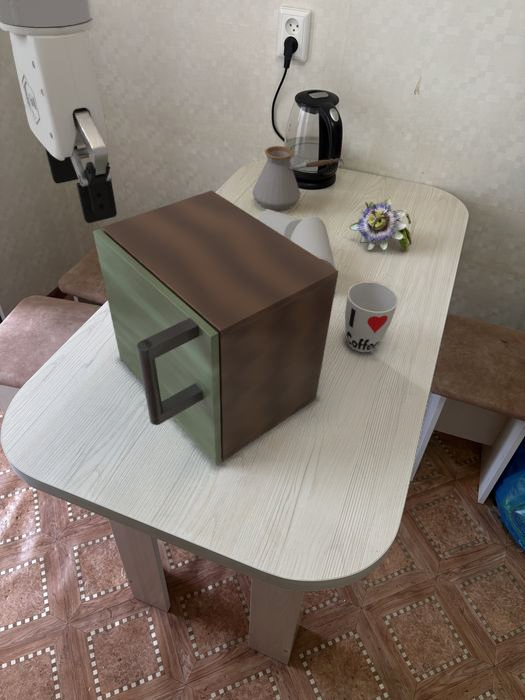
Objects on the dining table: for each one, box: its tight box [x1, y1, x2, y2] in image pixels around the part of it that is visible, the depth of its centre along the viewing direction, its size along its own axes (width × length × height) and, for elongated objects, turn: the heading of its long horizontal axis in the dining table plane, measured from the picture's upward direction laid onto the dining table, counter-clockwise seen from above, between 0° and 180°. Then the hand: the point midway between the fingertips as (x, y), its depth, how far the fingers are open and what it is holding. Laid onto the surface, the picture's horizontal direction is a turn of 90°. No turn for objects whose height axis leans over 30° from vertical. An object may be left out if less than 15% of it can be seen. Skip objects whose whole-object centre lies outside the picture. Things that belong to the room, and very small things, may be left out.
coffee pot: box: [252, 145, 345, 213], centre depth 116 cm, size 21×12×15 cm, turn 59°
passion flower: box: [349, 196, 412, 252], centre depth 110 cm, size 11×11×12 cm
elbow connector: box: [257, 209, 337, 270], centre depth 100 cm, size 18×11×20 cm
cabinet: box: [101, 189, 339, 462], centre depth 72 cm, size 18×26×24 cm
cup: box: [344, 281, 399, 353], centre depth 85 cm, size 8×8×10 cm
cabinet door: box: [92, 228, 223, 466], centre depth 66 cm, size 8×26×24 cm, turn 40°
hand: (84, 198), depth 53 cm, fingers open, 9 cm apart
